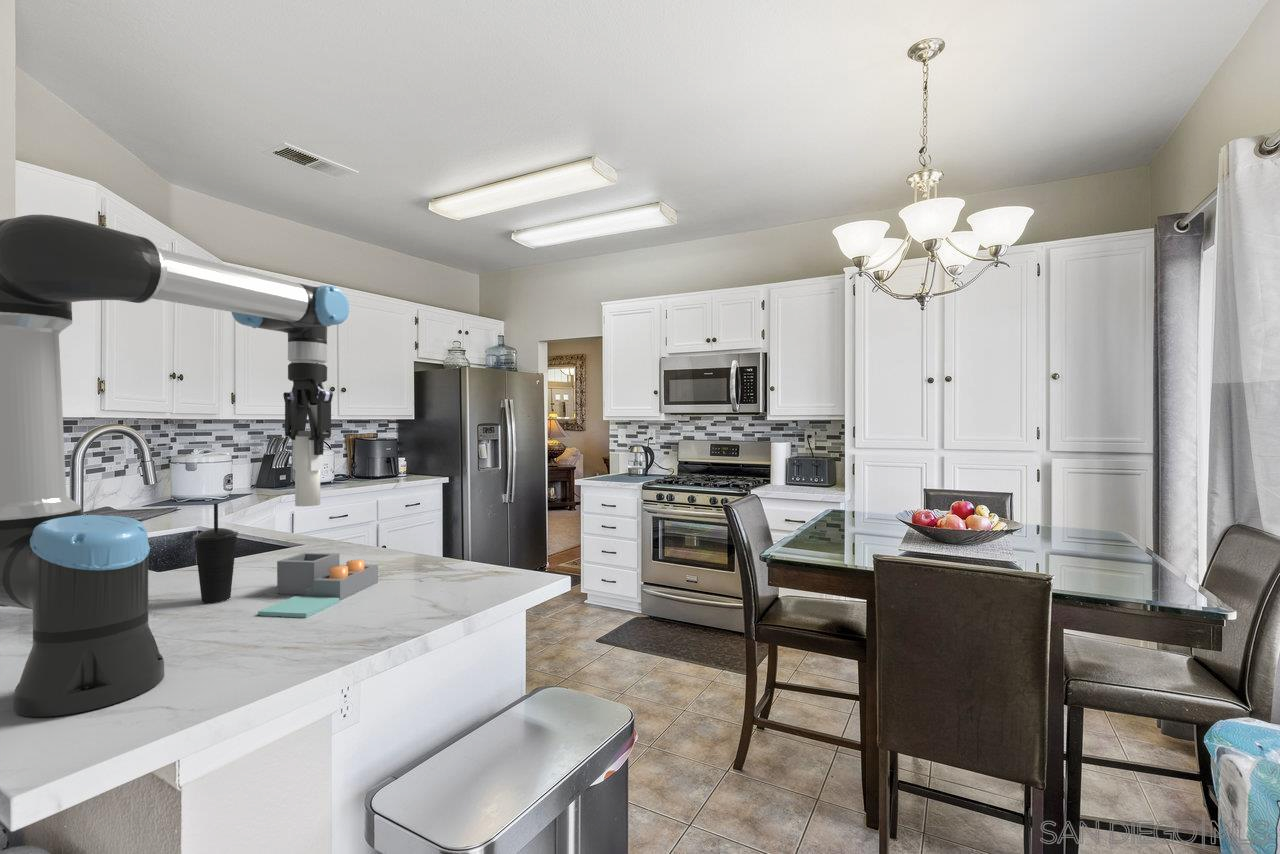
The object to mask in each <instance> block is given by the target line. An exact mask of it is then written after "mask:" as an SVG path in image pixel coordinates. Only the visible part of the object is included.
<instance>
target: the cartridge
mask: <svg viewBox="0 0 1280 854" xmlns="http://www.w3.org/2000/svg"><path fill="white" fill-rule="evenodd" d="M310 437H311V430H305V431H298V436H296V437H295V470H294V479H295V480H294V484H295V485H294V492H295V493H294V503H295V504H294V506H295V507H314V506H320V505H321V470H314V471H309V438H310Z"/></svg>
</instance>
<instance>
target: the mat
mask: <svg viewBox="0 0 1280 854" xmlns="http://www.w3.org/2000/svg"><path fill="white" fill-rule="evenodd" d="M337 603H340V600H339V598H327V597H306V596H302V595H299V596H297V595H296V596H295V595H294V596H292V597H289V598H287V599H285V600H281V601H280V602H277V603H275V604H272V605H270V606H267V607H265V608H262V609H261V610H258V611H257V616H258V615H261V617H279V616H281V617H282V618H283V617H284V618H303V619H305V618H309V617H311V616H313V615H316V614H317V613H320V612H322V611H324V610H325V609H328V608H329V607H331V606H333V605H336V604H337Z"/></svg>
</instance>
